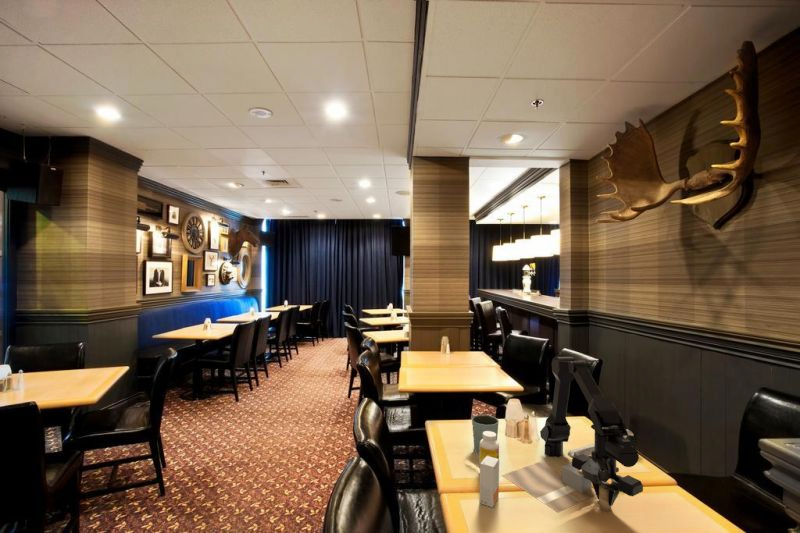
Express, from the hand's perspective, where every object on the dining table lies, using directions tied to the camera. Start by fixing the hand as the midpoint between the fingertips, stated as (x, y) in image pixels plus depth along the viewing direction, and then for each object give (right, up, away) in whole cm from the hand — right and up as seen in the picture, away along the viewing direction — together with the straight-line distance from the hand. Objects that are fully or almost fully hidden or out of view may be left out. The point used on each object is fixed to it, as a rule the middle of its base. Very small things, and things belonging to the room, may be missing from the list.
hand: (604, 502), depth 112 cm
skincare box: (-34, -1, +3) cm, 34 cm away
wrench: (+17, -3, +33) cm, 37 cm away
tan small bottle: (0, -2, 0) cm, 2 cm away
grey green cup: (-28, -2, +35) cm, 45 cm away
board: (-13, -2, +10) cm, 16 cm away
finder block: (-4, 0, +9) cm, 10 cm away
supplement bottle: (-30, -2, +20) cm, 36 cm away
